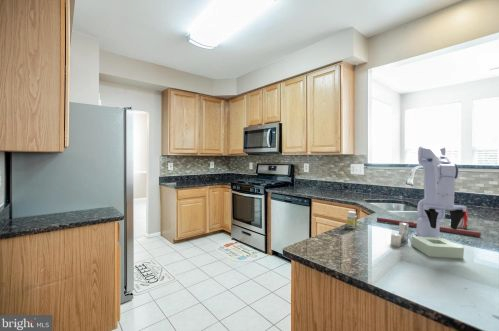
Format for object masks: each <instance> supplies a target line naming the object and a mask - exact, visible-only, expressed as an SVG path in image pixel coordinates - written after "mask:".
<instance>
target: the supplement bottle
mask: <svg viewBox="0 0 499 331" xmlns="http://www.w3.org/2000/svg"><path fill="white" fill-rule="evenodd" d="M346 218H347V219H346V220H347V221H346V227H347V228H348V229H357V228H358V227H357V224H358V221H357V220H358V216H357V212H356V211H353V210H348V212H347V216H346Z"/></svg>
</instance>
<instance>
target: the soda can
mask: <svg viewBox="0 0 499 331" xmlns="http://www.w3.org/2000/svg"><path fill="white" fill-rule="evenodd" d="M460 205H461V204H460ZM461 206H463V205H461ZM465 206H466V205H465ZM463 212H465V215H464V216H463V218H462V219H461V220H460V222H459V224H458V227H457V229H467V228H468V224H469V222H468V221H469V209H468V207H467V206H466V211H463Z"/></svg>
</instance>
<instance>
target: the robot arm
mask: <svg viewBox="0 0 499 331" xmlns="http://www.w3.org/2000/svg"><path fill="white" fill-rule="evenodd" d="M417 161H418V164H419V165H421V166H422V169H423V188H424V189H423V190H424V191H423V193H424V196H423V197H424V198H423V199H420V200H419V201H418V202H417V208H416V209H417V210H416V211H417V217H418V219H417V221H416V223H417V227H416V231H415V232H414V235H415V236H420V237H438V238H440V232H441V231H440V226H441V222H442V220H444V219H445V218H446V211H449V216H450V228H453V229H458V228H457V227H458V224H459V222H460V220H461V219H462V218H463V216H464V215H465V212H463V211H466V205H462V206H461V204H455V192H456V191H455V190H456V180H457V179H458V176H459V167H458V164H457V163H452V162H451V161H450V159H449V158H448V157H447V156H446V147H445V146H444V145H437V146H436V145H434V146H433V145H430V146H429V145H428V146H427V145H424V146H423V145H421V146H419V147H418V150H417Z"/></svg>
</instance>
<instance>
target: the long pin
mask: <svg viewBox="0 0 499 331" xmlns="http://www.w3.org/2000/svg"><path fill="white" fill-rule="evenodd" d="M409 228H410V227H409V224H407V223H399V224H398V234H399V235H401V243H407V244H408V243H409Z"/></svg>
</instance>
